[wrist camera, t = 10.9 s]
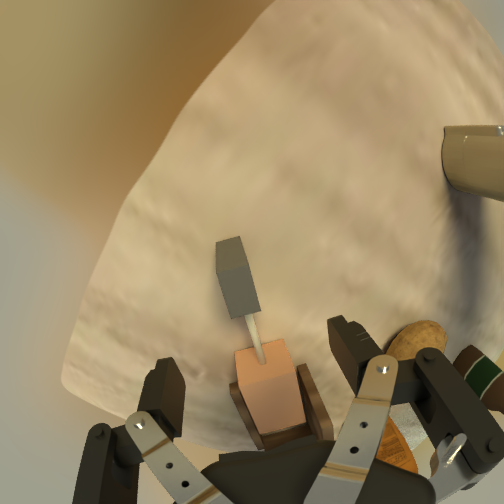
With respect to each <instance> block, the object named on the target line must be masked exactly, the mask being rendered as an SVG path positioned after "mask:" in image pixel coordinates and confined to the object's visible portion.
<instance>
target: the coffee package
mask: <svg viewBox="0 0 504 504" xmlns="http://www.w3.org/2000/svg"><path fill="white" fill-rule="evenodd" d="M376 458H377V459H380V460H382V461H385V462H387V463H390V464H392V465H395V466H397V467H400V468H402V469H405V470H408V471H411V472H414V473H416V474H418V468H417V464H416V462H415V459H414V457H413V454H412V452H411V450H410V448H409V446H408V444H407V442H406V440H405V438H404V437H403V435H402V434H401V433H400V431H399V430H398V428H397V426H396V425H395V424H394V422H393V421H392V419H391V418H390V416H388V420H387V423H386V427H385V430H384V434H383V437H382V441H381V444H380V447H379V450H378V453H377V456H376Z"/></svg>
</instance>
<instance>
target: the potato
mask: <svg viewBox="0 0 504 504" xmlns="http://www.w3.org/2000/svg"><path fill="white" fill-rule="evenodd" d="M446 342H447V336H446V333H445V331H444V330H443V328H442V327H441V326H440V325H439V324H438V323H436V322H433V321H429V320H428V321H418V322H416V323H413V324H411V325H409V326H407V327H406V328H404V329H403V330H402V331H401V332H400V333H399V334H398V335H397V337H396V338H395V339H394V340H393V341H392V343H391V345H390V347H389V348H388V350H387V352H386V354H385V355H389V356H392V357H394V358H395V359H396V360H398V361H401V360H408V359H413V358H415V356H416V353H417V352H418V351H419V350H421V349H423V348H426V347H433V348H437V349H439V350H440V351H441V352H442V353H444V349H445V346H446Z"/></svg>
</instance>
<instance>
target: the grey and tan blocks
mask: <svg viewBox="0 0 504 504" xmlns="http://www.w3.org/2000/svg"><path fill="white" fill-rule="evenodd" d="M216 274H217V277H218V280H219V283H220V286H221V290H222V293H223V296H224V299H225V302H226V305H227V308H228V311H229V314H230V317H231V319H233V318H237V317H241V316H245V319H246V323H247V326H248V329H249V332H250V335H251V339H252V342H253V345H254V347H252V348H248V349H244V350H240V351H236V352H234V353H235V361H236V369H237V377H238V385H239V388H240V391H241V393H242V395H243V398H244V400H245V402H246V405H247V407H248V409H249V411H250V414H251V416H252V418H253V420H254V423H255V425H256V427H257V429H258V431H259V433H260V434H264V433H268V432H272V431H276V430H280V429H284V428H287V427H291V426H294V425H298V424H301V423H305V422H306V419H305V414H304V409H303V404H302V400H301V395H300V390H299V385H298V381H297V376H296V371H295V369H294V366H293V363H292V361H291V358H290V356H289V353H288V350H287V348H286V345H285V343H284V340H283V339H281V340H277V341H274V342H270V343H267V344H263V345H261V341H260V338H259V335H258V331H257V328H256V324H255V321H254V318H253V314H252V313H255V312H259V311H261V308H260V305H259V301H258V297H257V294H256V290H255V286H254V282H253V279H252V275H251V271H250V267H249V264H248V261H247V257H246V254H245V251H244V248H243V245H242V242H241V239H240V236H238V237H234V238H230V239H227V240H223V241H219V242H216Z"/></svg>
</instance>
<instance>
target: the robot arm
mask: <svg viewBox="0 0 504 504" xmlns="http://www.w3.org/2000/svg"><path fill="white" fill-rule="evenodd" d="M442 160H443V167H444V171H445V174H446V176H447V179H448V180H449V182H450V184H451V185H452V186H453V187H454V188H455V189H457V190H459V191H462V192H466V193H469V194H475V195H479V196H483V197H487V198H490V199H494V200H498V201H501V202H504V126H497V125H464V126H445V138H444V142H443V148H442ZM327 325H328V335H329V344H330V348H331V351H332V353H333V355H334V357H335V359H336V361H337V363H338V364H339V366H340V368H341V370H342V372H343V374H344V375H345V377H346V379H347V381H348V383H349V385H350V386H351V388H352V390H353V392H354V394H355V396H356V397H355V398H354V399H353V402H352V404H351V407H350V409H349V412H348V414H347V417H346V419H345V422H344V424H343V427H342V429H341V431H340V434H339V436H338V438H337V441H334V440H316V438H315V435H314V434H313V435H310V436H306V437H303V438H299V439H295V440H291V441H289V442H287V443H285V444H283V445H281V446H278V447H276V448H274V449H272V450H269V451H265V452H261V451H239V452H233V453H226V454H219V461H217V462H215V463H212V464H211V465H209V466H207V467H206V468H205V469H203V470H202V471H201V472H199V471H198V470H197V469H196V468H195V467H194V466H193V465H192V464H191V462H190V461H189V460H188V459H187V458H186V457H185V456H184V455H183V454H182V453H181V452H180V451H179V450H178V448H177V447H176V446H175V445H174V444H173V439H174V438H175V437H181V435H182V423H183V411H184V400H185V390H186V386H185V381H184V378H183V376H182V374H181V372H180V370H179V369H178V367H177V365H176V363H175V361H174V359H173V358H172V357H169V358H163V359H158V360H157V363H156V367H155V369H154V370H150V372H149V373H148V375H147V376H146V377H145V381H144V386H143V389H142V393H141V397H140V400H139V404H138V409H137V412H135V413H133V414H132V415H130V416H129V417H128V418H127V420H126V423H125V425H122V426H119V427H115V428H112V429H111V427H110V426H109V425H107V424H105V423H99V424H96V425H94V426H93V427H92V428H91V429H90V430H89V432H88V436H87V440H86V443H85V447H84V451H83V455H82V459H81V463H80V468H79V472H78V477H77V481H76V486H75V491H74V497H73V502H72V504H137V493H138V478H139V466H140V465H139V464H140V463H141V462H146V464H147V465H148V467H149V468H150V469H151V471H152V472H153V473H154V475H155V476H156V477H157V479H158V480H159V481H160V482H161V484H162V485H163V487H164V488H165V489H166V490H167V492H168V493H169V494H170V495H171V496H172V498H173V499H174V500H175V502H174V503H173V504H437V503H438V502H440V501H442V500H444V499H446V498H447V497H449V496H451V495H452V494H454V493H456V492H457V491H459V490H467V489H470V488H472V487H473V486H474V485H475V484H477V482H479V481H480V480H481V479H482V478H483V477H484V476H485V475H487V474H488V473H489V472H490V471H491V470H492V469H493V468H494V467H495V466H496V465H497V464H498V463H499V462H500V461H501V460H502V459H503V458H504V432H503V430H502V429H501V428H500V426H499V425H498V423H497V422H496V420H495V419H494V418H493V416H492V415H491V414H490V412H489V411H488V409H487V408H486V407H485V405H484V404H483V403H482V401H481V400H480V399H479V397H478V396H477V395H476V394H475V392H474V391H473V390H472V388H471V387H470V386H469V385H468V383H467V382H466V381H465V380H464V378H463V377H462V376H461V375H460V373H459V372H458V371H457V370H456V369H455V367H454V366H453V365H452V364H451V363H450V361H449V360H448V359H447V358H446V357H445V355H444V354H443V353H442V352H441V351H440V350H439V349H437V348H433V347H426V348H423V349H421V350H419V351H418V352H417V353H416V356H415V358H413V359H408V360H401V361H398V360H396V359H395V358H394V357H392V356H389V355H385V354H384V353H383V352H382V351H381V349H380V348H379V347H378V345H377V344H376V343H375V342H374V340H373V339H372V338H371V337H370V335H369V334H368V333H367V332H366V330H365V329H364V328H363V326H362V325H361V324H359V323H357V322H355V321H352V322H349V323H348V322H347V321H346V320H345V318H344V317H343V316H342V315H339V316H336V317H333V318H330V319H328V320H327ZM408 402H409V403H410V405H411V407H412V409H413V410H414V412H415V414H416V415H417V417H418V419H419V421H420V422H421V424H422V426H423V428H424V430H425V431H426V433H427V435H428V437H429V438H430V440H431V442H432V444H433V446H434V448H435V452H434V453H433V455H432V457H431V460H430V467H431V477H430V479H427V478H425V477H423V476H421V475H419V474H416V473H414V472H411V471H408V470H405V469H402V468H400V467H397V466H395V465H392V464H390V463H387V462H385V461H382V460H380V459H377V458H376V456H377V453H378V450H379V447H380V444H381V441H382V437H383V434H384V430H385V427H386V423H387V420H388V416H389V412H390V408H391V405H397V404H403V403H408Z"/></svg>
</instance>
